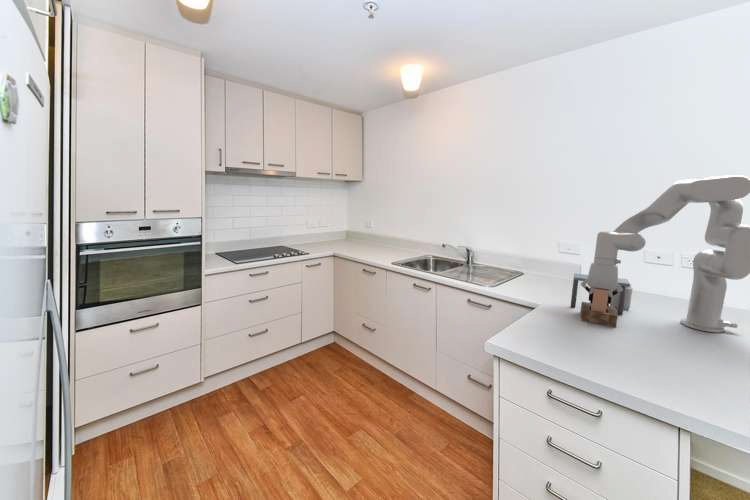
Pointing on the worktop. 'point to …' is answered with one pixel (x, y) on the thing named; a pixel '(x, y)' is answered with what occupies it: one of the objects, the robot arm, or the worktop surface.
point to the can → (627, 298)
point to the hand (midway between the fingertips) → (599, 303)
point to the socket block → (598, 315)
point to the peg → (600, 300)
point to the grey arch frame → (582, 277)
